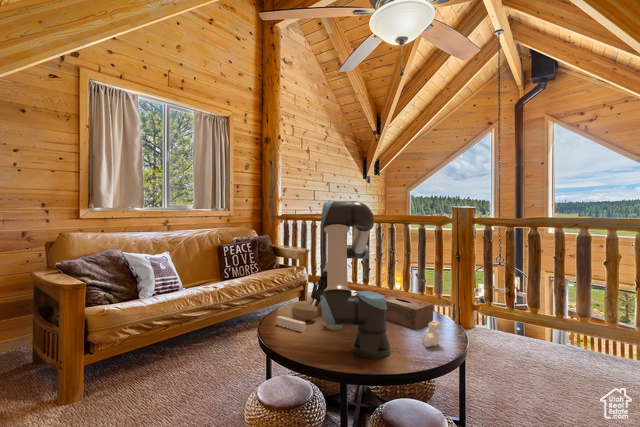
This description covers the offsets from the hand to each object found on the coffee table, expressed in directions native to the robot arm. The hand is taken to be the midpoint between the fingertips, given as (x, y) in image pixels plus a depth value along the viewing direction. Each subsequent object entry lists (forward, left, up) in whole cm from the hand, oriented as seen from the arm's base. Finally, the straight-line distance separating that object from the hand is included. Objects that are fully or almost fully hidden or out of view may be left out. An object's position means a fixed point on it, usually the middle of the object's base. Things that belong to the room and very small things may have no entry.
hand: (311, 311), depth 170 cm
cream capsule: (+20, +7, -4) cm, 22 cm away
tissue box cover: (+14, -46, -4) cm, 48 cm away
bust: (-14, -60, -4) cm, 61 cm away
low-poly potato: (-5, +2, -4) cm, 7 cm away
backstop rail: (-17, +4, -4) cm, 18 cm away
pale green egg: (-8, -15, -4) cm, 17 cm away
